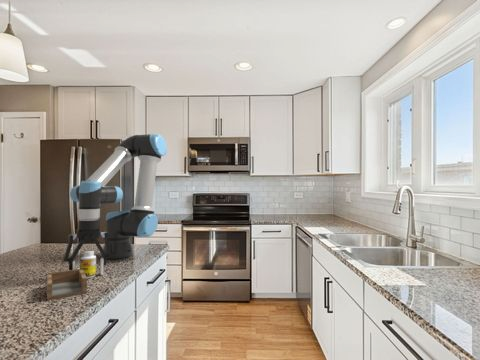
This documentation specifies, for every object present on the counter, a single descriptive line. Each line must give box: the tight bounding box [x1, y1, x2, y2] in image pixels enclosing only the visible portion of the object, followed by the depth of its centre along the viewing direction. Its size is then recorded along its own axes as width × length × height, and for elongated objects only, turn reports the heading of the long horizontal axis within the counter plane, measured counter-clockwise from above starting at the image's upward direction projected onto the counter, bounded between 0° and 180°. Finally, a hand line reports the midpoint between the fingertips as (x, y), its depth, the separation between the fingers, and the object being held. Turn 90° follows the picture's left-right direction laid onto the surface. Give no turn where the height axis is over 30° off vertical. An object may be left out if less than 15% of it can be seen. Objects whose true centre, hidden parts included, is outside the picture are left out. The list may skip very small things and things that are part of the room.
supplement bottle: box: [79, 249, 97, 279], centre depth 111 cm, size 6×6×10 cm
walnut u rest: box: [46, 268, 88, 301], centre depth 96 cm, size 14×11×5 cm
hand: (87, 276), depth 111 cm, fingers open, 9 cm apart
